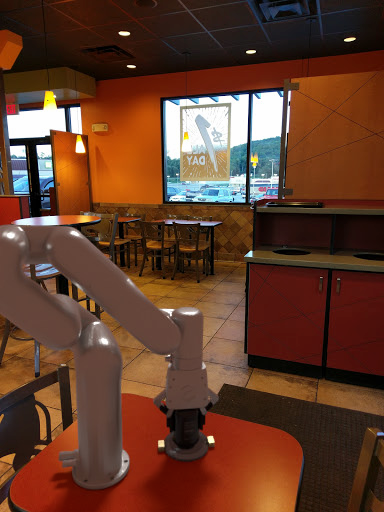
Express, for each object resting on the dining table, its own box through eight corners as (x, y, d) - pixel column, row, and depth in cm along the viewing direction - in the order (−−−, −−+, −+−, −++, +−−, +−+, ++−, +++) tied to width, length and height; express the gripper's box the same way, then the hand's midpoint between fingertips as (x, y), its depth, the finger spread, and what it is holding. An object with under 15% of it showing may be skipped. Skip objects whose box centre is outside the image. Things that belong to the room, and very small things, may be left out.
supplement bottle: (201, 432, 91) (202, 388, 90) (196, 450, 85) (197, 403, 83) (175, 428, 93) (176, 385, 91) (168, 446, 86) (168, 400, 84)
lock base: (159, 464, 83) (159, 459, 83) (157, 433, 94) (157, 429, 93) (218, 459, 85) (218, 454, 85) (209, 429, 96) (209, 425, 95)
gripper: (150, 368, 81) (150, 440, 83) (226, 365, 83) (223, 435, 86) (149, 354, 88) (149, 421, 91) (219, 351, 90) (217, 416, 93)
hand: (185, 427), depth 88 cm, fingers closed on supplement bottle, 6 cm apart
